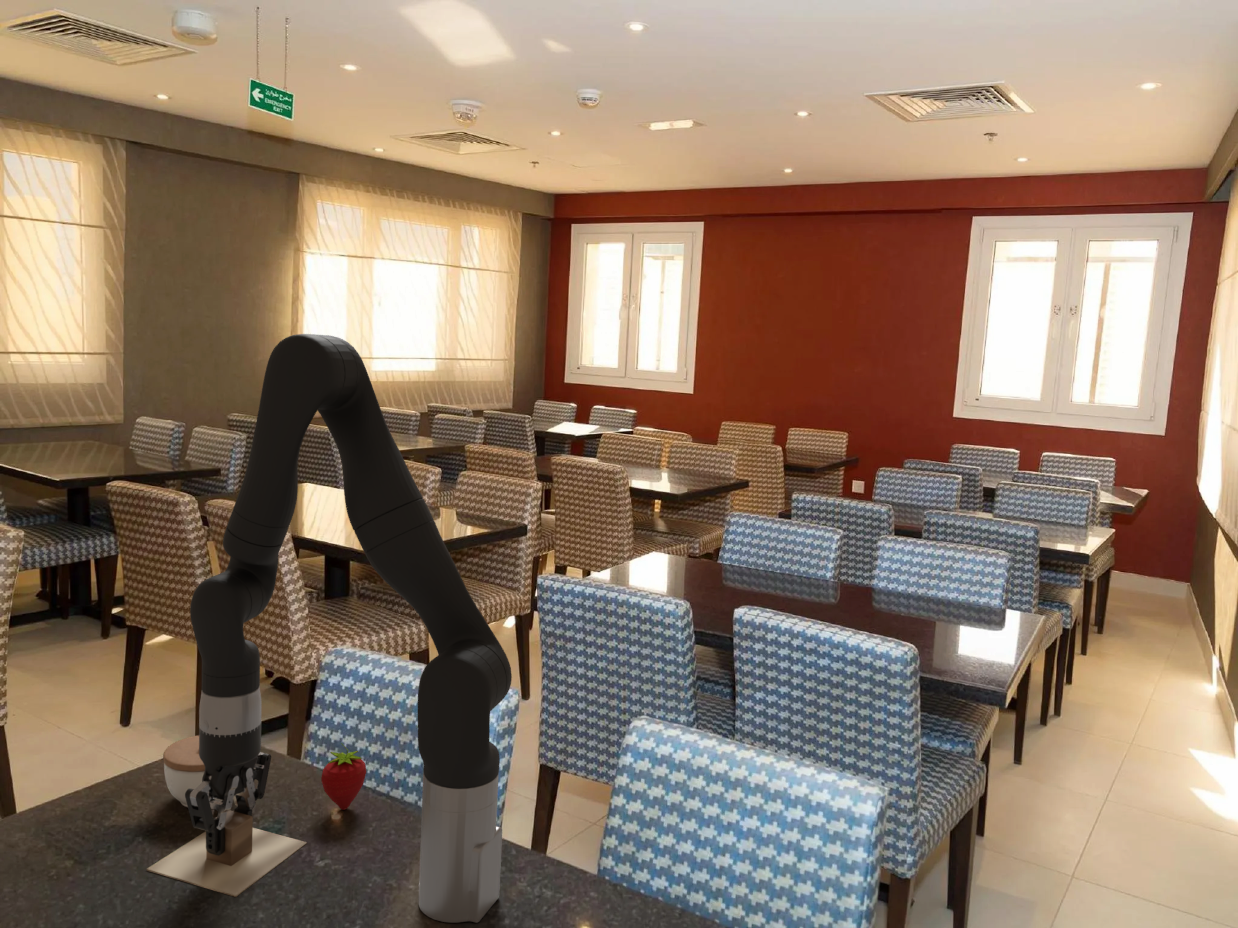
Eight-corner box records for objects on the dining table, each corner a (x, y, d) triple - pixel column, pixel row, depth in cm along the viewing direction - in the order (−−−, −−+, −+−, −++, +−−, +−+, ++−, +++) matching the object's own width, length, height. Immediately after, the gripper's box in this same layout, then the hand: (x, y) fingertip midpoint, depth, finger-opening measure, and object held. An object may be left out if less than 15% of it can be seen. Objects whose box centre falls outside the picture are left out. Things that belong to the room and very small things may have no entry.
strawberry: (310, 816, 140) (312, 751, 139) (339, 793, 147) (340, 731, 146) (347, 824, 139) (348, 758, 137) (374, 801, 146) (376, 737, 145)
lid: (306, 847, 133) (307, 807, 133) (235, 901, 120) (236, 857, 119) (223, 824, 138) (224, 786, 137) (146, 874, 125) (146, 832, 124)
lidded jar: (187, 824, 136) (187, 761, 135) (149, 798, 143) (148, 737, 141) (256, 798, 145) (257, 738, 143) (217, 775, 151) (217, 717, 150)
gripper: (215, 747, 119) (214, 877, 121) (289, 707, 132) (287, 825, 134) (165, 735, 121) (165, 864, 123) (244, 697, 134) (242, 813, 137)
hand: (229, 843), depth 129 cm, fingers open, 4 cm apart
